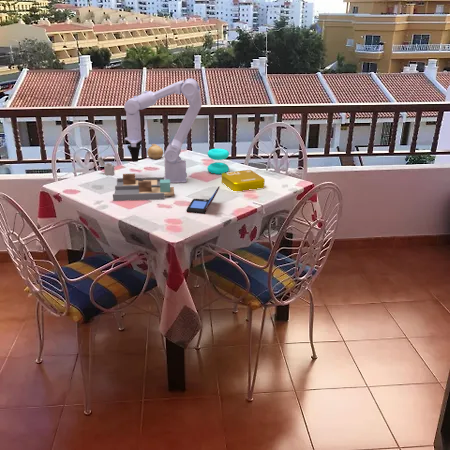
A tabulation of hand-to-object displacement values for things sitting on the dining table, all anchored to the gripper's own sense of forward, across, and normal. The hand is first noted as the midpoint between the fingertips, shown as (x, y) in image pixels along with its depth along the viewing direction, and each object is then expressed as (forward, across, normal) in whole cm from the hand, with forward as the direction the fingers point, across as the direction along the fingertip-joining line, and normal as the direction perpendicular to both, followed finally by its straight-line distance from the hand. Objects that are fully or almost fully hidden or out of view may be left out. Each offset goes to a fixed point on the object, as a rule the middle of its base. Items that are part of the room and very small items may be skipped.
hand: (135, 158), depth 208 cm
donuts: (+10, -9, +37) cm, 39 cm away
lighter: (+10, -8, -14) cm, 19 cm away
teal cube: (+8, +20, +12) cm, 24 cm away
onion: (+10, -33, +8) cm, 35 cm away
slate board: (+9, +15, +2) cm, 18 cm away
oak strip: (+8, +20, +9) cm, 23 cm away
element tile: (+10, +10, +46) cm, 48 cm away
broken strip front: (+8, +10, -2) cm, 13 cm away
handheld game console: (+10, +34, +27) cm, 45 cm away
